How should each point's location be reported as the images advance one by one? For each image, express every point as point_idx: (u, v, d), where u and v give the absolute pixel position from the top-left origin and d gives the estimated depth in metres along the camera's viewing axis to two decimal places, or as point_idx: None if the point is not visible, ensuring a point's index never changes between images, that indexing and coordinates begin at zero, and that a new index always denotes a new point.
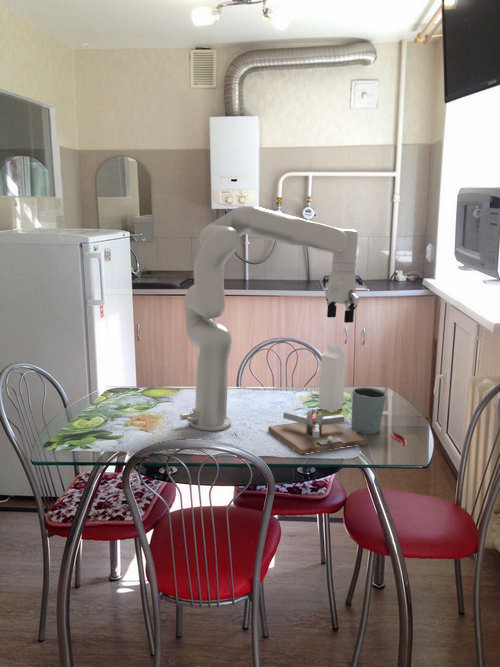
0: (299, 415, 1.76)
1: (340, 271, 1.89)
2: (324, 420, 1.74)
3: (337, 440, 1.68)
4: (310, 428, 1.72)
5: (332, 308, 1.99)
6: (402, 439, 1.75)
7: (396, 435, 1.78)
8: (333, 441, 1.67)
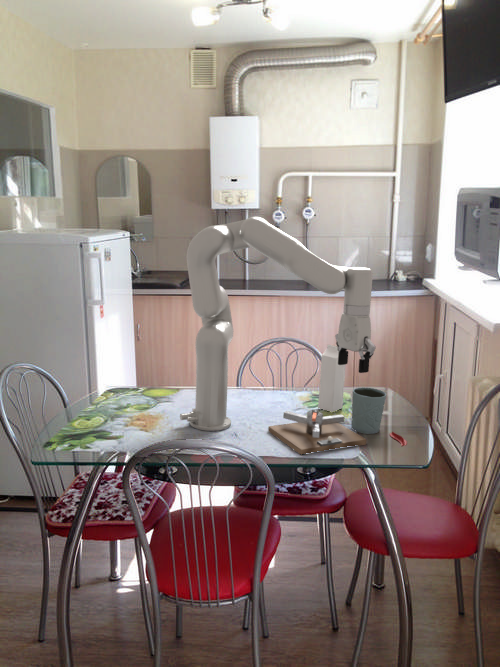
0: (299, 415, 1.76)
1: (353, 315, 1.67)
2: (324, 420, 1.74)
3: (337, 440, 1.68)
4: (310, 428, 1.72)
5: (344, 354, 1.77)
6: (401, 439, 1.75)
7: (395, 435, 1.78)
8: (333, 441, 1.67)
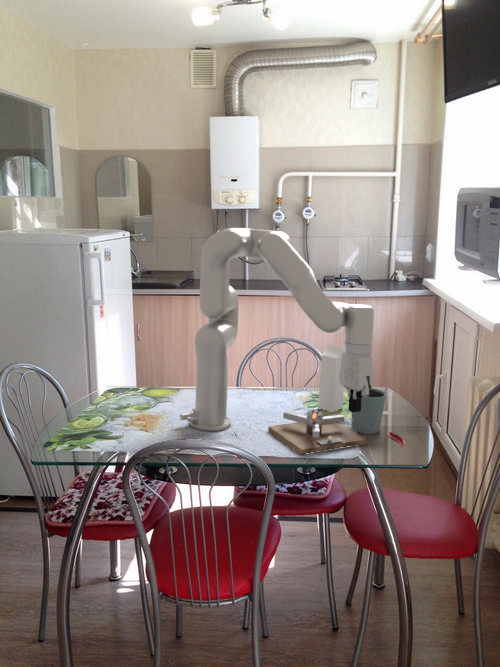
0: (299, 415, 1.76)
1: (354, 354, 1.63)
2: (324, 420, 1.74)
3: (337, 440, 1.68)
4: (310, 428, 1.72)
5: None
6: (400, 439, 1.75)
7: (393, 435, 1.78)
8: (333, 441, 1.67)
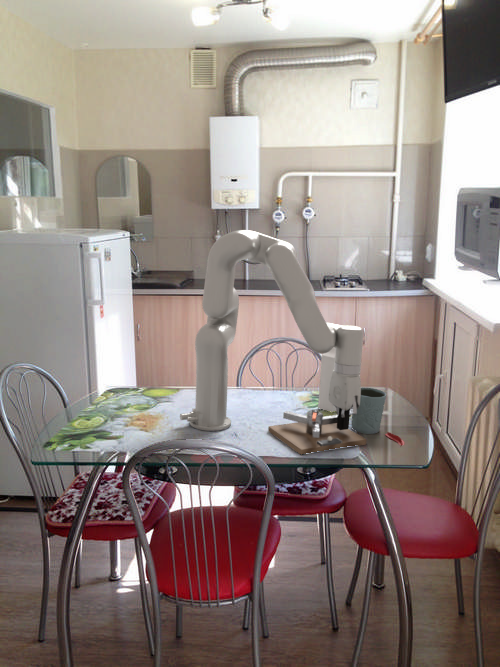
0: (299, 415, 1.76)
1: (343, 374, 1.68)
2: (324, 420, 1.74)
3: (337, 440, 1.68)
4: (310, 428, 1.72)
5: None
6: (399, 439, 1.75)
7: (391, 435, 1.77)
8: (333, 441, 1.67)
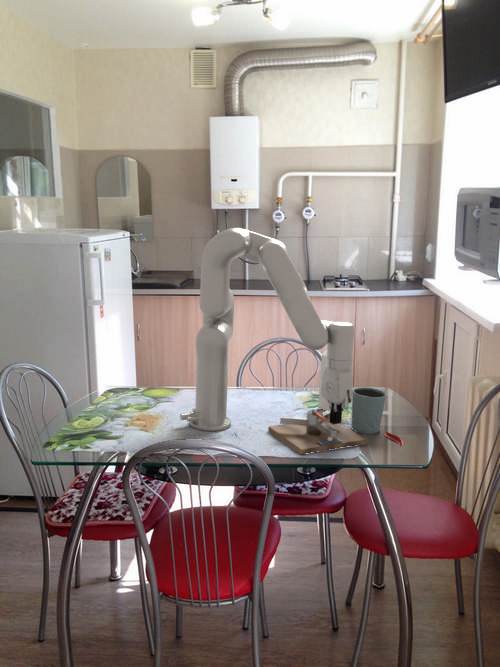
0: (297, 418, 1.74)
1: (335, 369, 1.72)
2: None
3: (337, 440, 1.68)
4: (314, 429, 1.72)
5: None
6: (398, 439, 1.75)
7: (390, 435, 1.77)
8: (333, 441, 1.67)
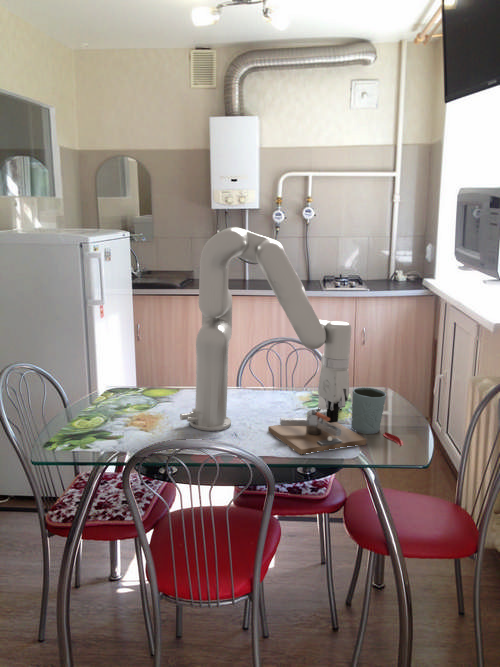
0: (297, 419, 1.73)
1: (332, 368, 1.73)
2: None
3: (337, 440, 1.68)
4: (315, 429, 1.72)
5: None
6: (397, 439, 1.75)
7: (390, 435, 1.77)
8: (333, 441, 1.67)
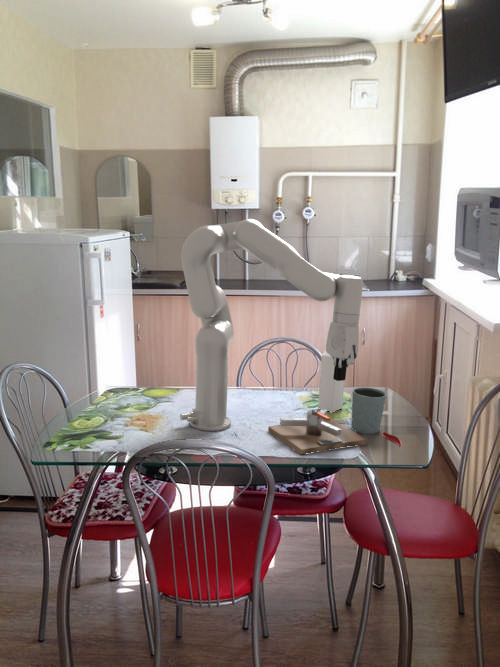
0: (297, 419, 1.73)
1: (342, 323, 1.68)
2: None
3: (337, 440, 1.68)
4: (315, 429, 1.72)
5: None
6: (396, 439, 1.75)
7: (388, 436, 1.77)
8: (333, 441, 1.67)
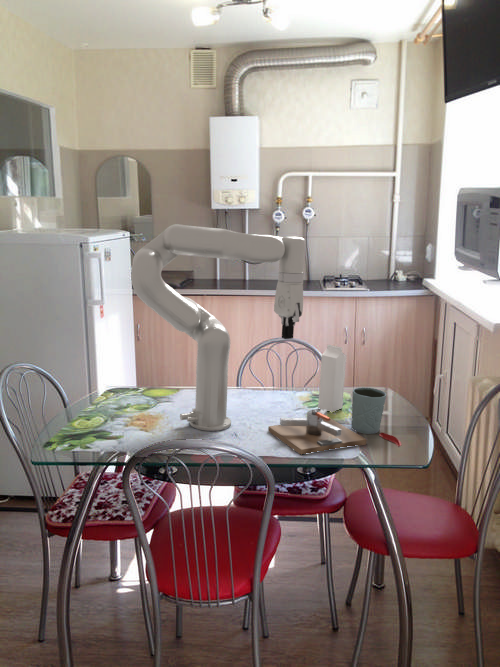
0: (297, 419, 1.73)
1: (286, 282, 1.75)
2: None
3: (337, 440, 1.68)
4: (315, 429, 1.72)
5: None
6: (395, 439, 1.74)
7: (387, 435, 1.77)
8: (333, 441, 1.67)
